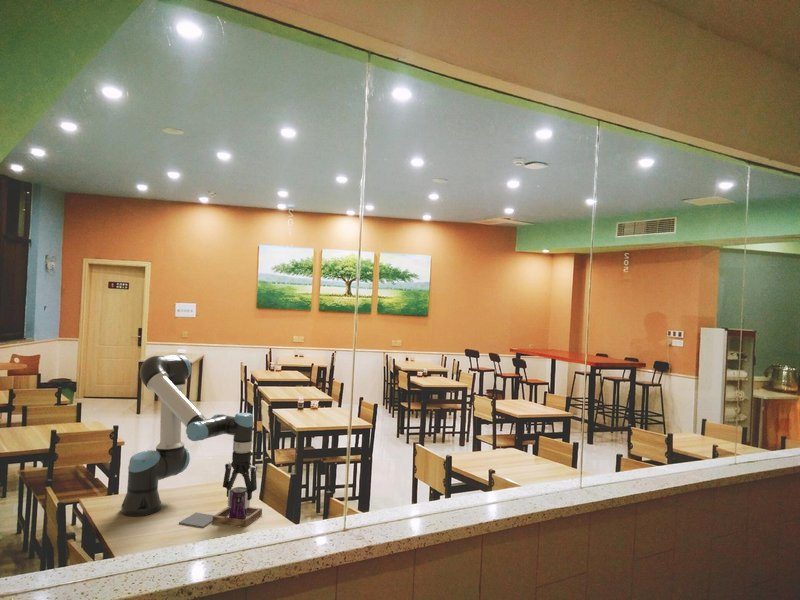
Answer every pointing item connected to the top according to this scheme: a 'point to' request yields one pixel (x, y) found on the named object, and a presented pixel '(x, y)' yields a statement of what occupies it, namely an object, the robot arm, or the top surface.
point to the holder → (222, 519)
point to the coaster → (198, 520)
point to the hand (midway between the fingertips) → (238, 506)
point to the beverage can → (238, 503)
